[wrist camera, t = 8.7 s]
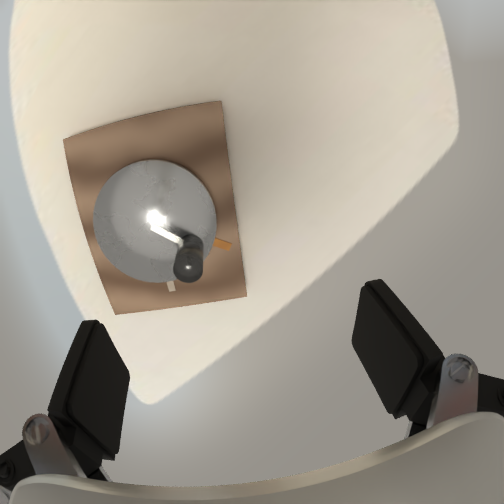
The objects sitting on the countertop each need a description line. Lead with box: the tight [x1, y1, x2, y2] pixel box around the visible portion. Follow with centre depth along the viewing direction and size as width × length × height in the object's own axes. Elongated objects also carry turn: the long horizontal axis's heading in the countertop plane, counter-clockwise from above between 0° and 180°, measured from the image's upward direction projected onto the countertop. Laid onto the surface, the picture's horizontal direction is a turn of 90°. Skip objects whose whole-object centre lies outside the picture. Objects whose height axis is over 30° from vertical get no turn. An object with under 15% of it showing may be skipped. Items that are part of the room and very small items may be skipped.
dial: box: [93, 159, 217, 283], centre depth 25 cm, size 13×13×6 cm
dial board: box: [63, 101, 247, 315], centre depth 29 cm, size 22×17×2 cm
